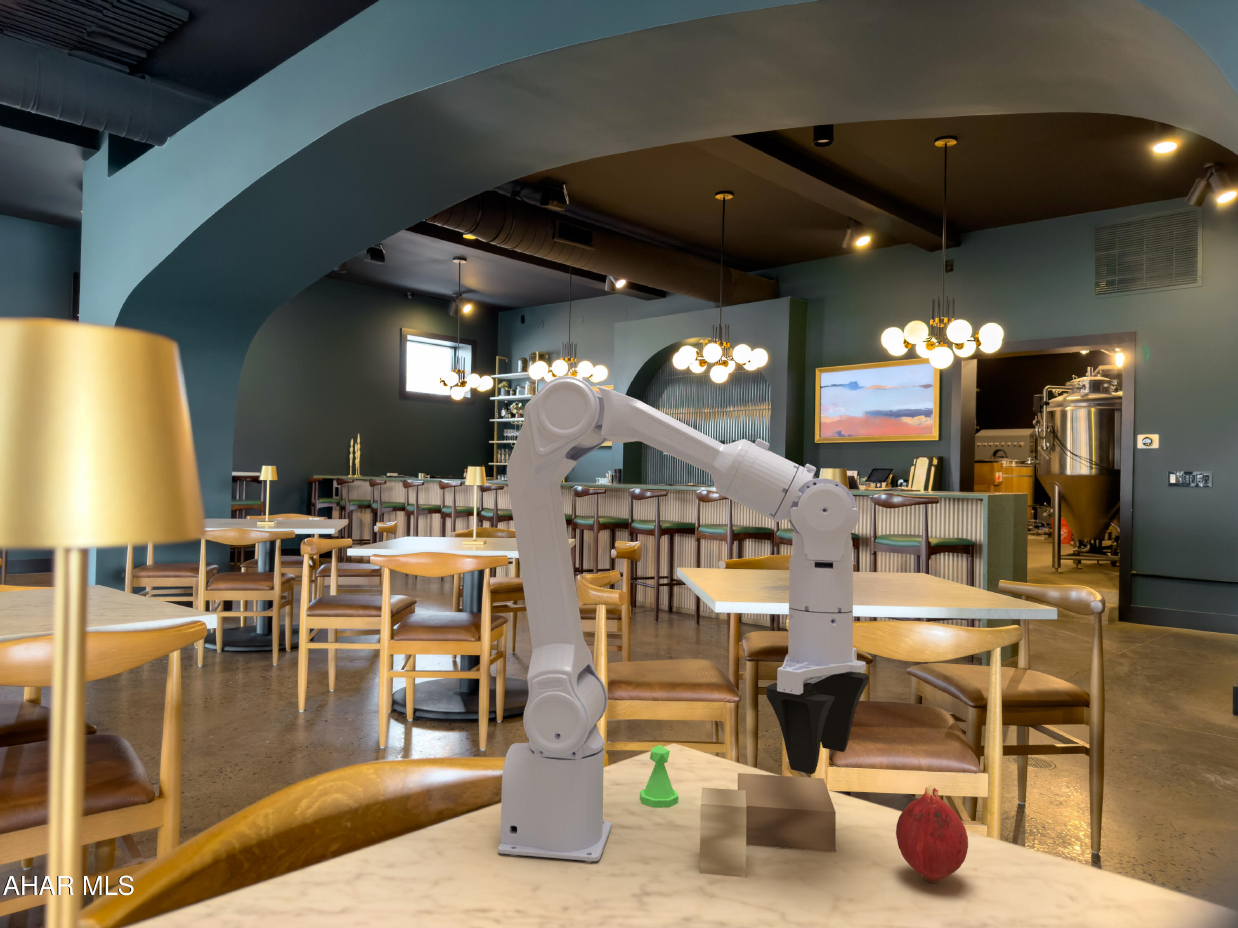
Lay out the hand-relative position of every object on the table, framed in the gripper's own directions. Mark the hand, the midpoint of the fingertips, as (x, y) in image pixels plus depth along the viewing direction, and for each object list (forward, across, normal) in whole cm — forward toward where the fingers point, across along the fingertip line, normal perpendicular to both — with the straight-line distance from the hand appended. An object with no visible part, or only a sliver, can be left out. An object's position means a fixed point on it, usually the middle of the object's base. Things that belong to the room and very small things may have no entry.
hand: (819, 759), depth 69 cm
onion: (+10, +3, -9) cm, 13 cm away
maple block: (+10, -5, +7) cm, 13 cm away
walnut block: (+10, +6, +6) cm, 13 cm away
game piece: (+10, +4, +20) cm, 22 cm away
